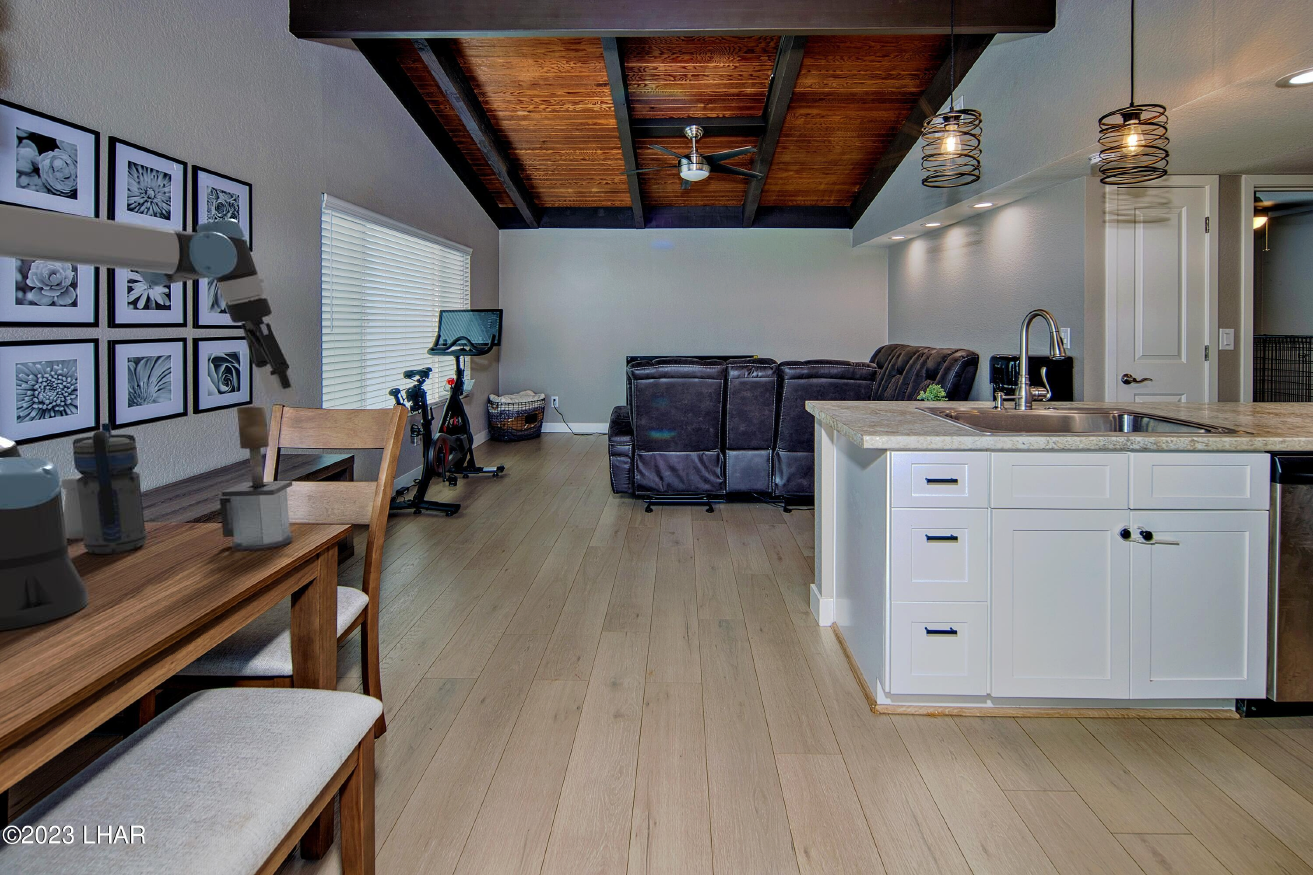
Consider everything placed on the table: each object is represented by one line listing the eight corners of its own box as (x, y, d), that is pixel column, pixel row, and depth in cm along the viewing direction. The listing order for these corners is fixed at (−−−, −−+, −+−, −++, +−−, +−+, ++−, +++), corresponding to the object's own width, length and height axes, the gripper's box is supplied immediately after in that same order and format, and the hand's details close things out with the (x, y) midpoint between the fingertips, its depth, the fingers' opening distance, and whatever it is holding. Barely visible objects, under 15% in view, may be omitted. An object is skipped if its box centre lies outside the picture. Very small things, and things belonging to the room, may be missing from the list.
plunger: (239, 488, 145) (232, 408, 143) (250, 484, 150) (243, 406, 148) (266, 488, 146) (259, 408, 144) (276, 483, 151) (269, 405, 149)
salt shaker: (83, 532, 161) (76, 474, 159) (104, 533, 159) (98, 474, 158) (56, 539, 155) (49, 479, 153) (78, 540, 154) (71, 480, 152)
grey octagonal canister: (213, 552, 144) (208, 492, 142) (239, 537, 154) (234, 482, 153) (280, 550, 145) (275, 490, 143) (301, 535, 156) (296, 480, 154)
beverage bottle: (79, 562, 139) (63, 431, 135) (89, 545, 150) (75, 424, 147) (144, 553, 144) (130, 427, 140) (149, 538, 155) (136, 421, 152)
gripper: (281, 296, 140) (318, 400, 147) (251, 294, 159) (285, 387, 166) (239, 305, 136) (279, 412, 143) (213, 303, 154) (250, 397, 162)
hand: (282, 399), depth 154 cm, fingers open, 13 cm apart
